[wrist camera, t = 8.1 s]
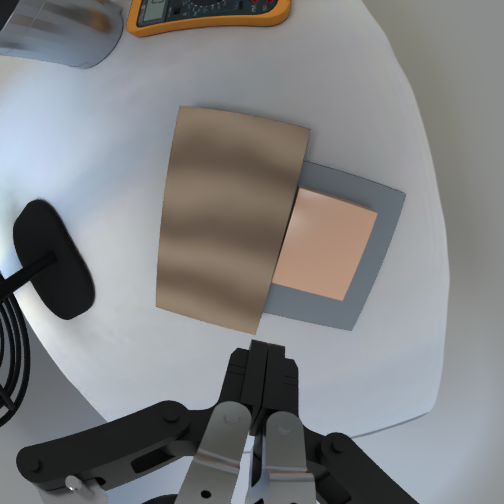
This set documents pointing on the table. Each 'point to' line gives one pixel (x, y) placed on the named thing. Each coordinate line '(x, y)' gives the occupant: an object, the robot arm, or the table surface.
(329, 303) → the mat
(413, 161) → the table surface
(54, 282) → the desk fan
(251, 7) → the multimeter
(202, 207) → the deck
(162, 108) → the table surface
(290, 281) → the tile
